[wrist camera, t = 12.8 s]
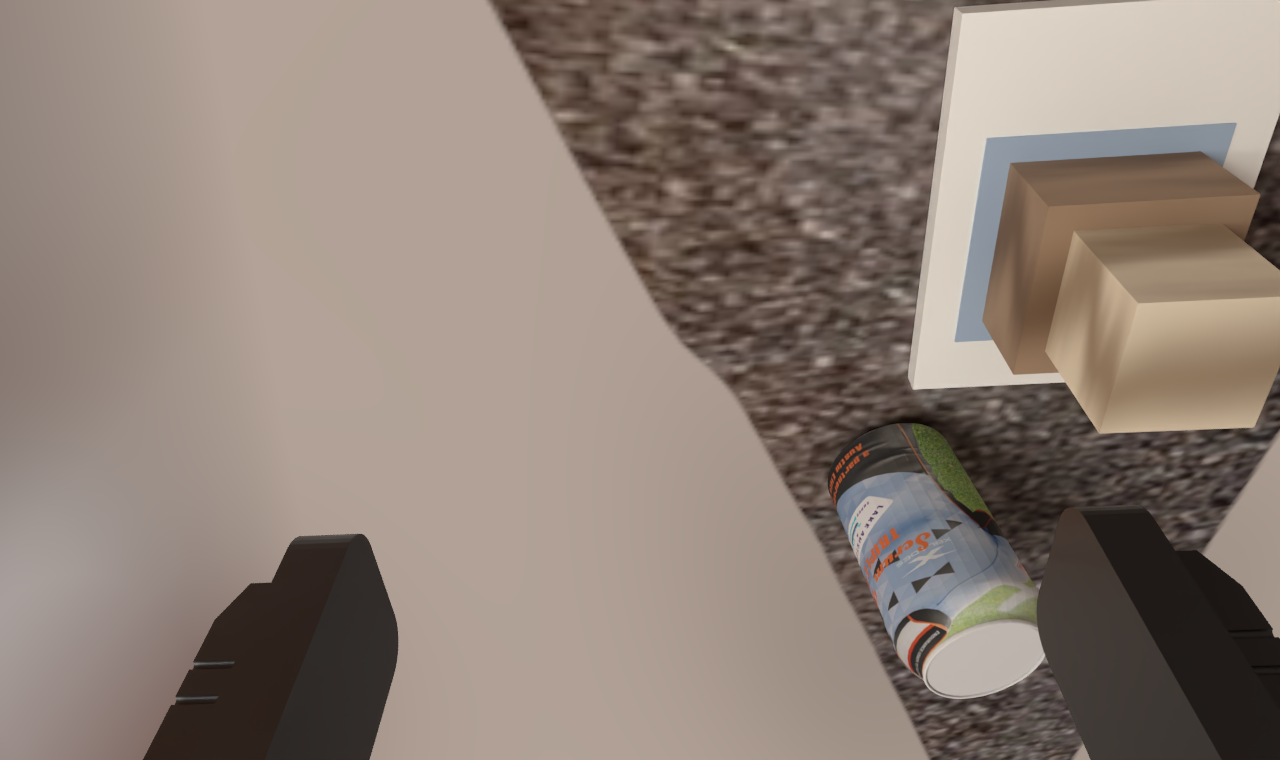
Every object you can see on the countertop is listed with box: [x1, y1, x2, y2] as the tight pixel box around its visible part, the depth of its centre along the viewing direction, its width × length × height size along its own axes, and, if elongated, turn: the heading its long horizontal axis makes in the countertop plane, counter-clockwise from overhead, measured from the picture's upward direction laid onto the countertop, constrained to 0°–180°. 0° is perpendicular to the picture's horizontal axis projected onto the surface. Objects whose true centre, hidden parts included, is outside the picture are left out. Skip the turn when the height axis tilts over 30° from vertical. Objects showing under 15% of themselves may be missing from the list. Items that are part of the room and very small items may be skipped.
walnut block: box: [982, 151, 1261, 375], centre depth 34 cm, size 7×7×4 cm
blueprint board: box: [908, 0, 1280, 389], centre depth 35 cm, size 16×12×1 cm
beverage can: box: [828, 423, 1045, 699], centre depth 38 cm, size 6×7×12 cm
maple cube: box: [1045, 223, 1280, 434], centre depth 30 cm, size 5×5×5 cm
